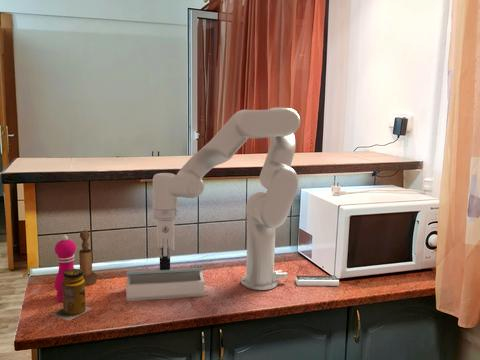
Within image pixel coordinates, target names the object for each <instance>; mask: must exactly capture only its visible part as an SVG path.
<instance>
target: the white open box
mask: <svg viewBox="0 0 480 360" xmlns="http://www.w3.org/2000/svg"><path fill="white" fill-rule="evenodd" d="M205 283H206V282H205V278H204V276H203V271H188V272H169V273H150V274H131V275H127V278H126V284H125V285H126V286H125V287H126V289H125V290H126V292H125V294H126V298H125V299H126V302H133V301H134V302H137V301H151V300H152V301H153V300H155V301H156V300H166V299H169V300H170V299H184V298H198V297H205V287H206V286H205Z"/></svg>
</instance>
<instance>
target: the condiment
mask: <svg viewBox="0 0 480 360" xmlns="http://www.w3.org/2000/svg"><path fill="white" fill-rule="evenodd" d="M63 276H64V278H63V282H62V289H63V302H62V307H63V308H61V309H59V310H57V311H55V312H53V313H51V316H53V317H56V318H59V319H61V320H66V321H68V322H70V321H72V320H74V319H75V318H76V319H77V318H78V317H80V316H82V315H83V314H85V313H87V312H89V311H91V310H92V309H93V307H89V306H86V286H85V280H84V279H83V271H82V270H80V268H74V269H71V270H67V271H65V272H64V274H63Z"/></svg>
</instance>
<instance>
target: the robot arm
mask: <svg viewBox="0 0 480 360" xmlns="http://www.w3.org/2000/svg"><path fill="white" fill-rule="evenodd" d="M300 126H301V118H300V115H299V114H298V112H297V111H296V110H295V109H293V108H290V107H271V108H269V109H241V110H238V111H236V112H234V114H233V115H232V116H231V117H230V118H229V119H228V120H227V122H226V123H225V124H224V125H223V126H222V127H221V128H220V130H219V131H218V132H217V133H216V134H215V135H214V136H213V138H211V140H209V141H208V142H207V143H206V144H205V145H204V146H203V147H202V148H201V149H199V150H198V151H197V152H195V153H194V154H193V155H192V156H191V157H190V158H189V159H188V161H187V162H185V164H184V165H183V166H182V167H181V168H180V169H179V171H178V172H177V174H176V173H175V174H174V173H171V172H160V173H155V174H154V175H153V177H152V219H154V220H155V221H156V239H157V247H158V248H157V249H158V251H159V252H160V256H159V270H171V256H170V255H171V254H170V251H172V252H174V251H175V220H176V219H178V198H185V199H195V198H196V199H197V197H200V196H201V195H202V194H203V192H204V191H205V190H204V189H205V183H204V181H203V177H205V175H207V174H208V173H209V172H210V171H211V170H212V169H214V168H215V167H217V166H219V165H222V164H224V163H227V162H228V161H230V160H231V159H232V158H233V157H234V156H235V154H236V153H237V152H238V151H239V150H240V149H241V147H242V146H243V145H244V144H245V143H246V142H247V141H248V139H267V138H268V139H269V148H268V150H267V151H268V152H267V154H266V157H265V160H264V162H263V165H262V169H261V171H260V174H259V182H260V184H261V186H262V187H263V188H264V189H266V192H263V191H260V192H255V193H252V195H250V196H249V197H248V199H247V202H246V205H245V214H246V227H247V229H246V231H247V235H246V261H245V262H246V267H245V268H246V269H245V275H243V276H242V277H241V280H240V282H241V285H243V286H244V287H245V288H248V289H251V290H254V291H255V290H256V291H268V290H271V289H274V288H276V287H277V286H278V283H279V279H287V278H288V272H287V271H285V272H283V271H282V270H281V269H280V270H275V254H276V252H275V250H276V249H275V248H276V229H277V228H279V227H281V226H282V225H283V224H284V223H285V221H286V220H287V218H288V217H289V213H290V211H291V209H292V206H293V205H292V204H293V202H294V200H295V197H296V195H297V191H298V188H299V177H298V174H297V172H296V170H294V168H292V167H291V166H292V163H293V159H294V156H295V153H296V137H295V133H296V132H297V131H298V130H299V128H300Z"/></svg>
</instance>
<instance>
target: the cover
mask: <svg viewBox="0 0 480 360" xmlns="http://www.w3.org/2000/svg"><path fill="white" fill-rule="evenodd" d="M188 271H202V272H204V271H205V267H195V268H194V267H191V268H175V269H174V268H173V269H171V268H170V270H160V269H155V270H154V269H152V270H138V271H137V270H136V271H135V270H132V271H126V272H125V275H126V276H128V275H131V274H150V273H169V272H188Z"/></svg>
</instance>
